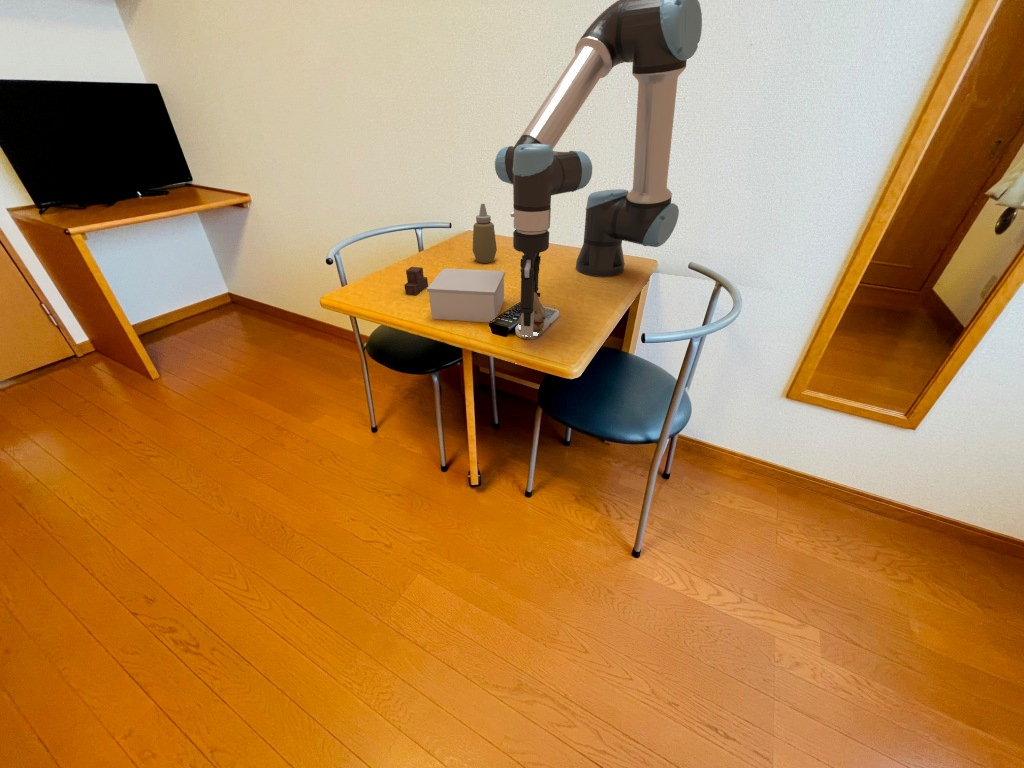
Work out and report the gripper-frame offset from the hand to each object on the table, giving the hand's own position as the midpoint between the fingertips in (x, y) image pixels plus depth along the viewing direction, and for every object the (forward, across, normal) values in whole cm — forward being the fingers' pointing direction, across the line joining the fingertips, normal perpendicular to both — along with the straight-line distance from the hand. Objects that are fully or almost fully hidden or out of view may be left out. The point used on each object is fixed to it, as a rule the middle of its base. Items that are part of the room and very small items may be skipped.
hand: (529, 329), depth 102 cm
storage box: (0, -10, -17) cm, 20 cm away
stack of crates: (+1, -21, -34) cm, 39 cm away
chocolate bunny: (0, 0, 0) cm, 1 cm away
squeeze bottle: (0, -49, -21) cm, 53 cm away
